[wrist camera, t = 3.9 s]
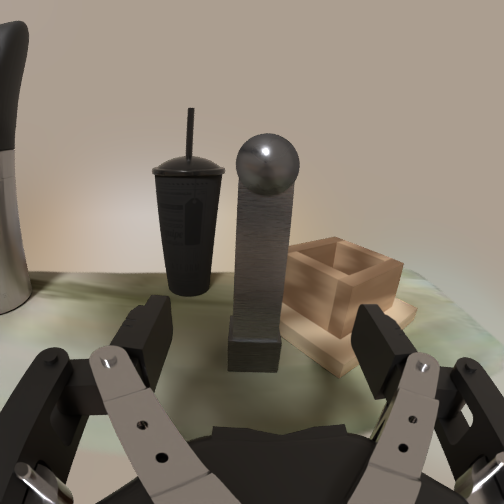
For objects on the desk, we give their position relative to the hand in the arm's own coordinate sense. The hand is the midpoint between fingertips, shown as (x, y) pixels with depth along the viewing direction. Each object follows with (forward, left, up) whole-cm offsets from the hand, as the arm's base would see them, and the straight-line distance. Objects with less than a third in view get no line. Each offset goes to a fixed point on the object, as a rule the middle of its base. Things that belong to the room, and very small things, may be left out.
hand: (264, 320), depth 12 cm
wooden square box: (-8, +16, -9) cm, 20 cm away
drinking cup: (-21, +6, -9) cm, 23 cm away
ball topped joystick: (-7, +5, -9) cm, 12 cm away
